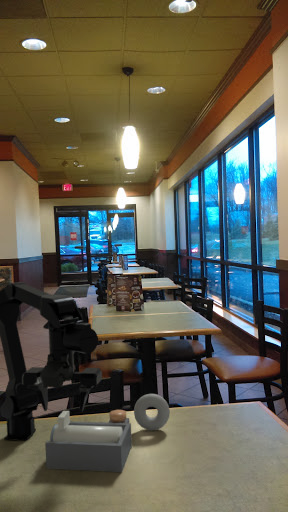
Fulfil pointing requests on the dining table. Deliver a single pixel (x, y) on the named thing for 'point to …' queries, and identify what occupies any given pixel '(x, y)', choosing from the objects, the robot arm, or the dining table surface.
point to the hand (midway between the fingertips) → (63, 410)
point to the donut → (145, 420)
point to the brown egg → (117, 416)
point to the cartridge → (83, 432)
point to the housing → (90, 451)
